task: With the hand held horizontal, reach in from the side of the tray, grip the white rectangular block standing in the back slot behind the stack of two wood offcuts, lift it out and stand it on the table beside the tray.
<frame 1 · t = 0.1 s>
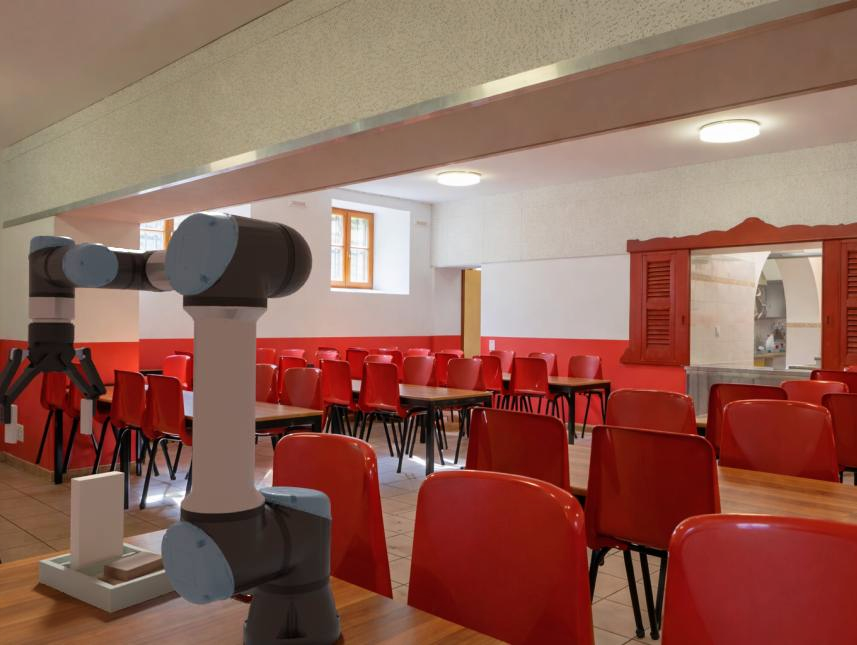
hand: (50, 438, 130), 28 cm above the table, tool pointing down, fingers open, 13 cm apart
white rectangular block: (97, 569, 138), point 1 cm above the table, touching tray
smartphone: (230, 582, 138), on the table
offcut lower: (134, 583, 131), point 1 cm above the table, touching offcut upper, tray
offcut upper: (135, 571, 131), point 3 cm above the table, touching offcut lower
tray: (114, 583, 134), on the table
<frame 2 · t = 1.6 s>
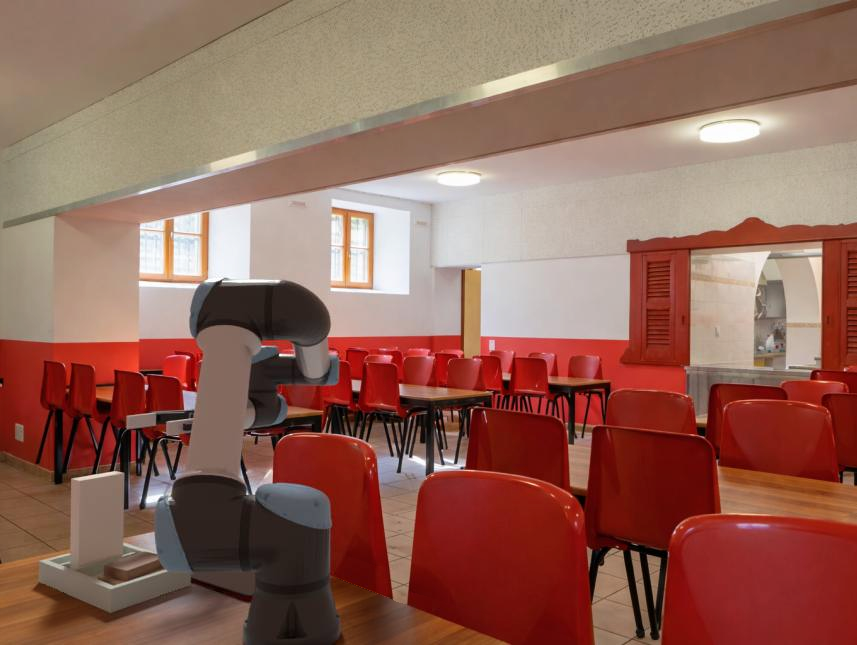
hand: (146, 425, 146), 28 cm above the table, tool horizontal, fingers open, 13 cm apart
nothing on the table moved.
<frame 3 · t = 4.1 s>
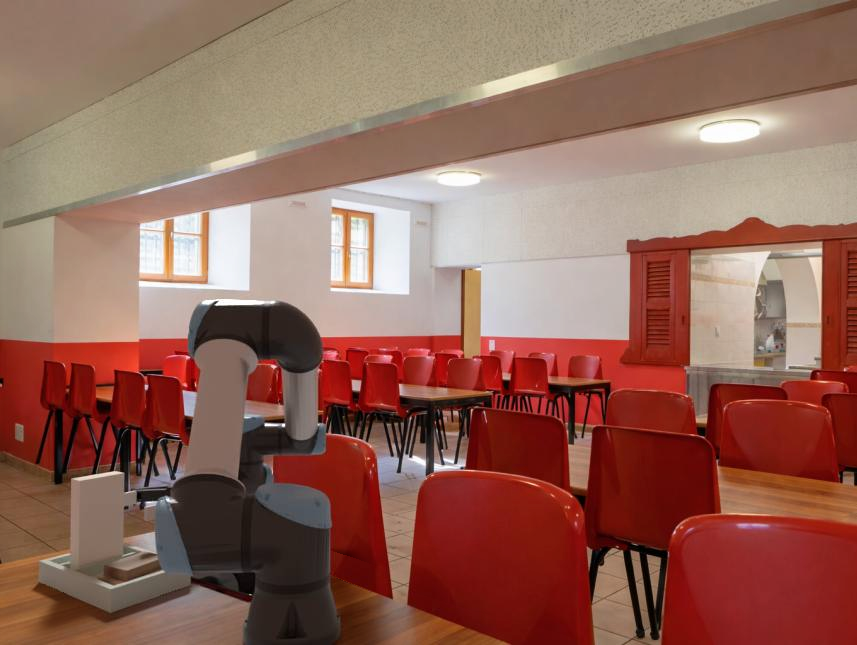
hand: (125, 508, 143), 12 cm above the table, tool horizontal, fingers open, 13 cm apart
nothing on the table moved.
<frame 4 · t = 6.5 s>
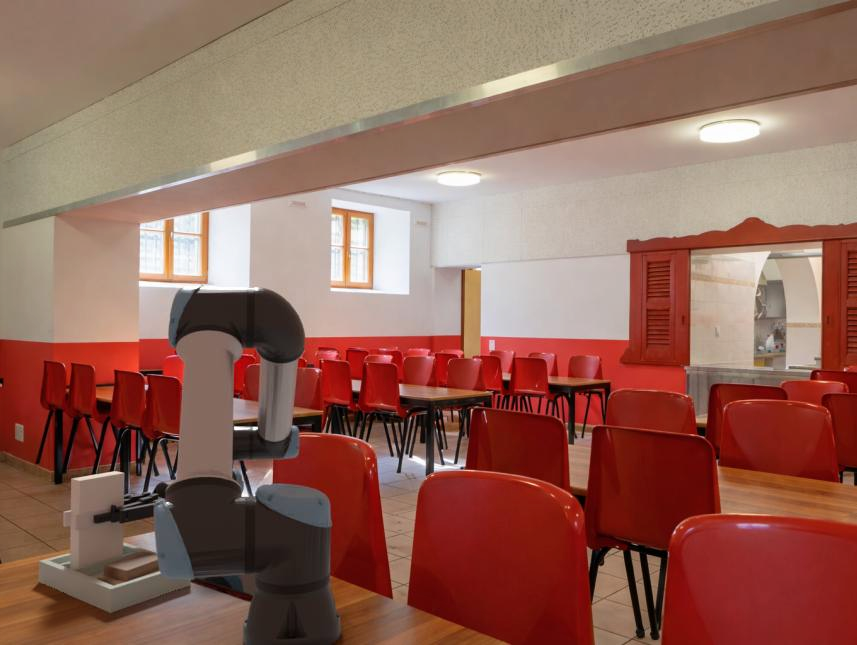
hand: (69, 520, 133), 12 cm above the table, tool horizontal, fingers closed on white rectangular block, 3 cm apart
white rectangular block: (97, 569, 138), point 1 cm above the table, touching gripper, tray
everything else where it was.
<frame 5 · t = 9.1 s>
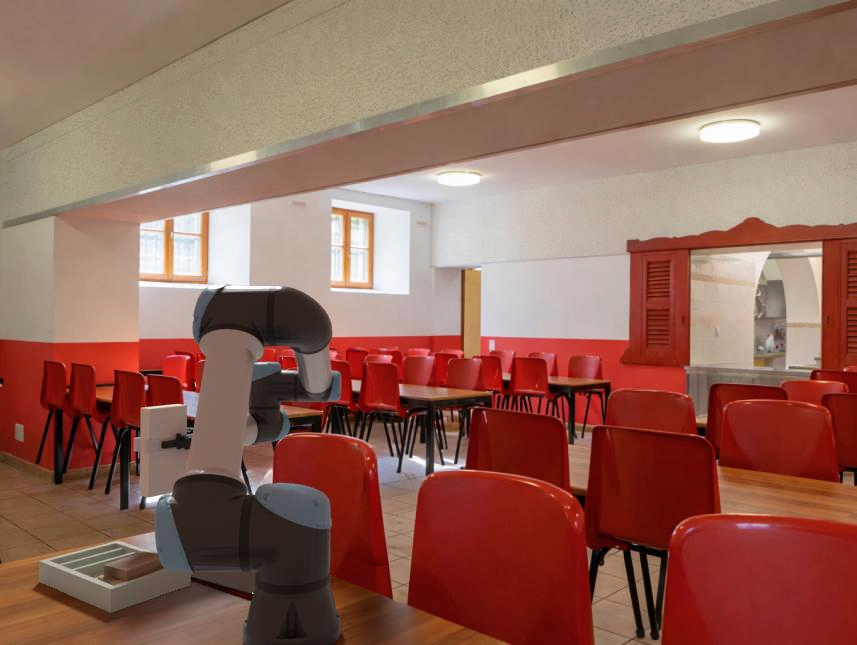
hand: (140, 445, 145), 24 cm above the table, tool horizontal, fingers closed on white rectangular block, 3 cm apart
white rectangular block: (163, 492, 150), point 14 cm above the table, touching gripper
everything else where it was.
when the fingers open (11 cm above the table, at t = 11.7 s): white rectangular block drops 1 cm, on the table.
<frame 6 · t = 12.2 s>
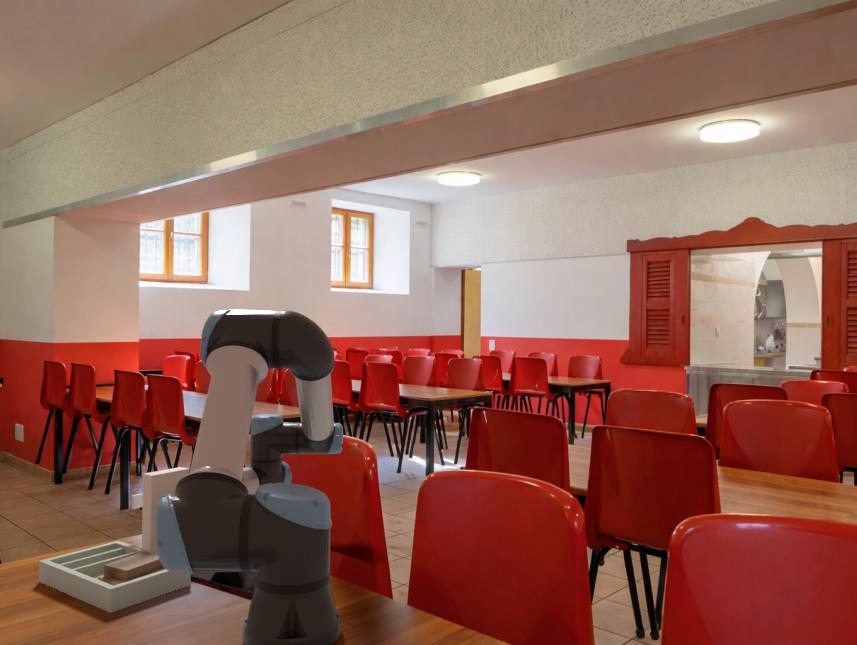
hand: (147, 506, 147), 11 cm above the table, tool horizontal, fingers open, 10 cm apart
white rectangular block: (165, 556, 150), on the table
everything else where it was.
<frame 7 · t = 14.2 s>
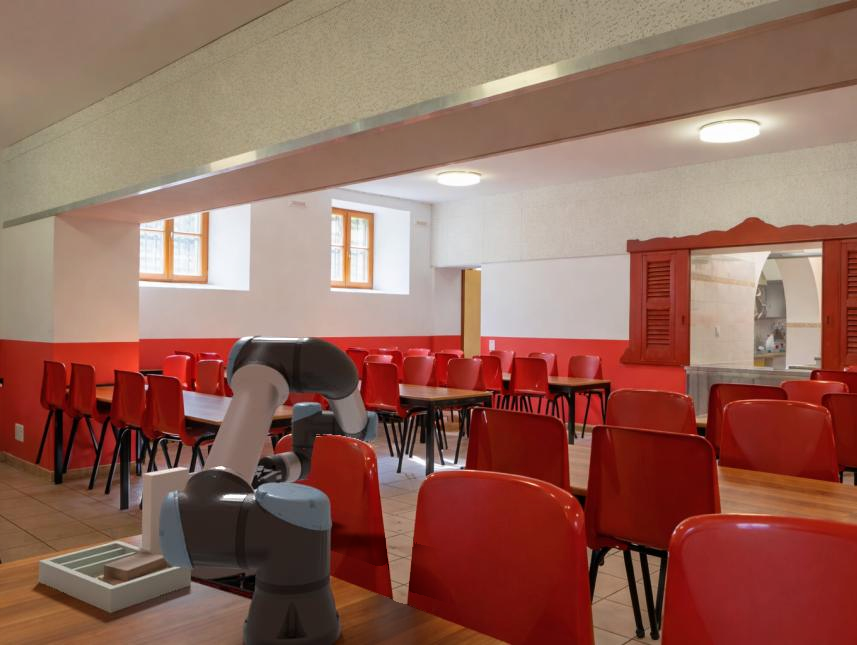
hand: (205, 484, 158), 14 cm above the table, tool horizontal, fingers open, 13 cm apart
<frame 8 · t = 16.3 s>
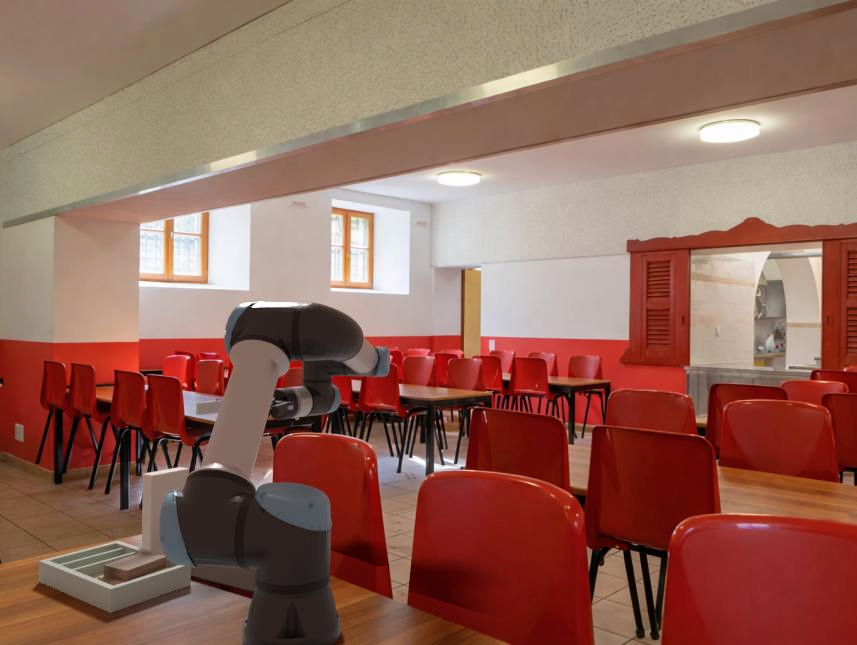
hand: (217, 411, 156), 30 cm above the table, tool horizontal, fingers open, 13 cm apart
at the end: white rectangular block inside the target area (0.8 cm from its centre), on the table; white rectangular block tilted 0°; the gripper is holding nothing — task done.
